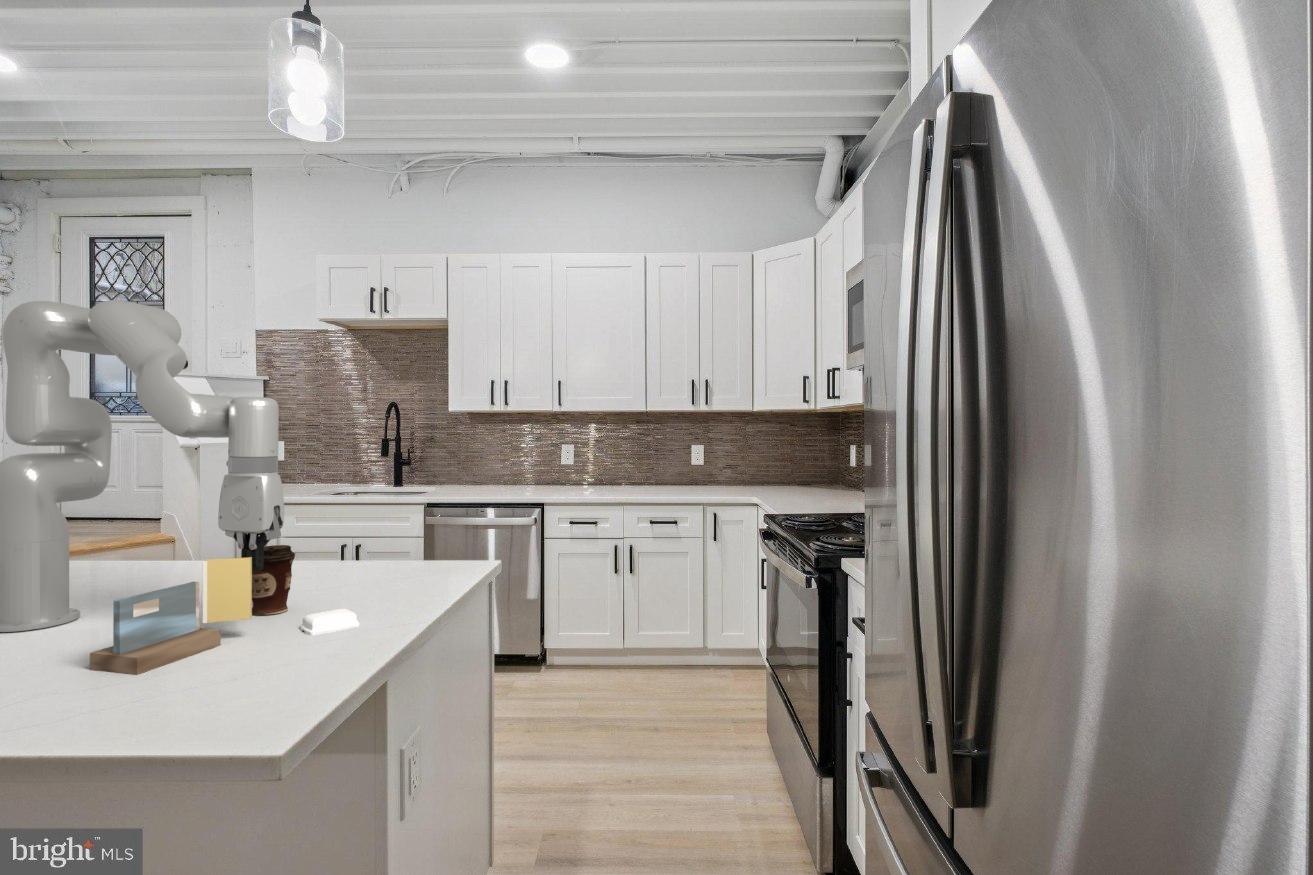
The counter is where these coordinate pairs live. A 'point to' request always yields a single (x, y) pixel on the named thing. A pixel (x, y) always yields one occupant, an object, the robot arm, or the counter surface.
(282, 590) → the coffee cup
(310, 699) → the counter surface
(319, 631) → the soap
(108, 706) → the counter surface
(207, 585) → the yellow flat slab
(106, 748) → the counter surface
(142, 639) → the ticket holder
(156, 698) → the counter surface
